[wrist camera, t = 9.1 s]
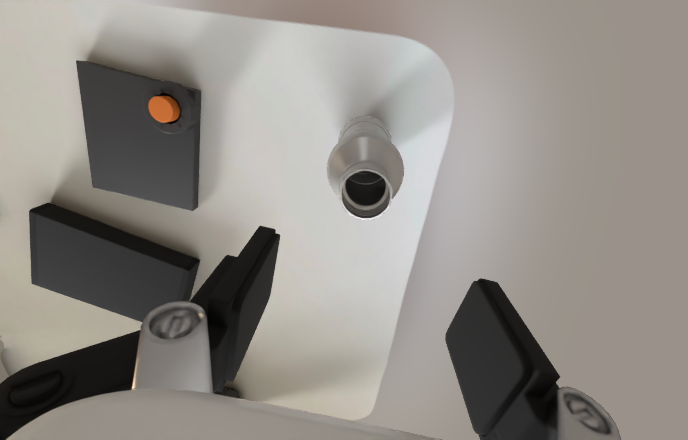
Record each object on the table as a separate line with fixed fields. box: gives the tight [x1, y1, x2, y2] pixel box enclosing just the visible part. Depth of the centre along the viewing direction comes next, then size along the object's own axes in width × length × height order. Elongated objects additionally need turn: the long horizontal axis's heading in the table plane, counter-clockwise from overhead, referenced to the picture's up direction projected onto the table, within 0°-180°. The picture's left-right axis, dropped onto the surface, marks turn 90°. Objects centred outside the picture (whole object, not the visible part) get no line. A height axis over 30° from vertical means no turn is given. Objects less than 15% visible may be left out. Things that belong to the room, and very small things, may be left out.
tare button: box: [149, 96, 180, 122], centre depth 35 cm, size 3×3×2 cm
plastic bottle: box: [327, 116, 404, 220], centre depth 29 cm, size 6×7×20 cm
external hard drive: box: [29, 203, 200, 322], centre depth 47 cm, size 14×23×3 cm, turn 66°
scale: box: [76, 61, 201, 211], centre depth 38 cm, size 16×14×3 cm
